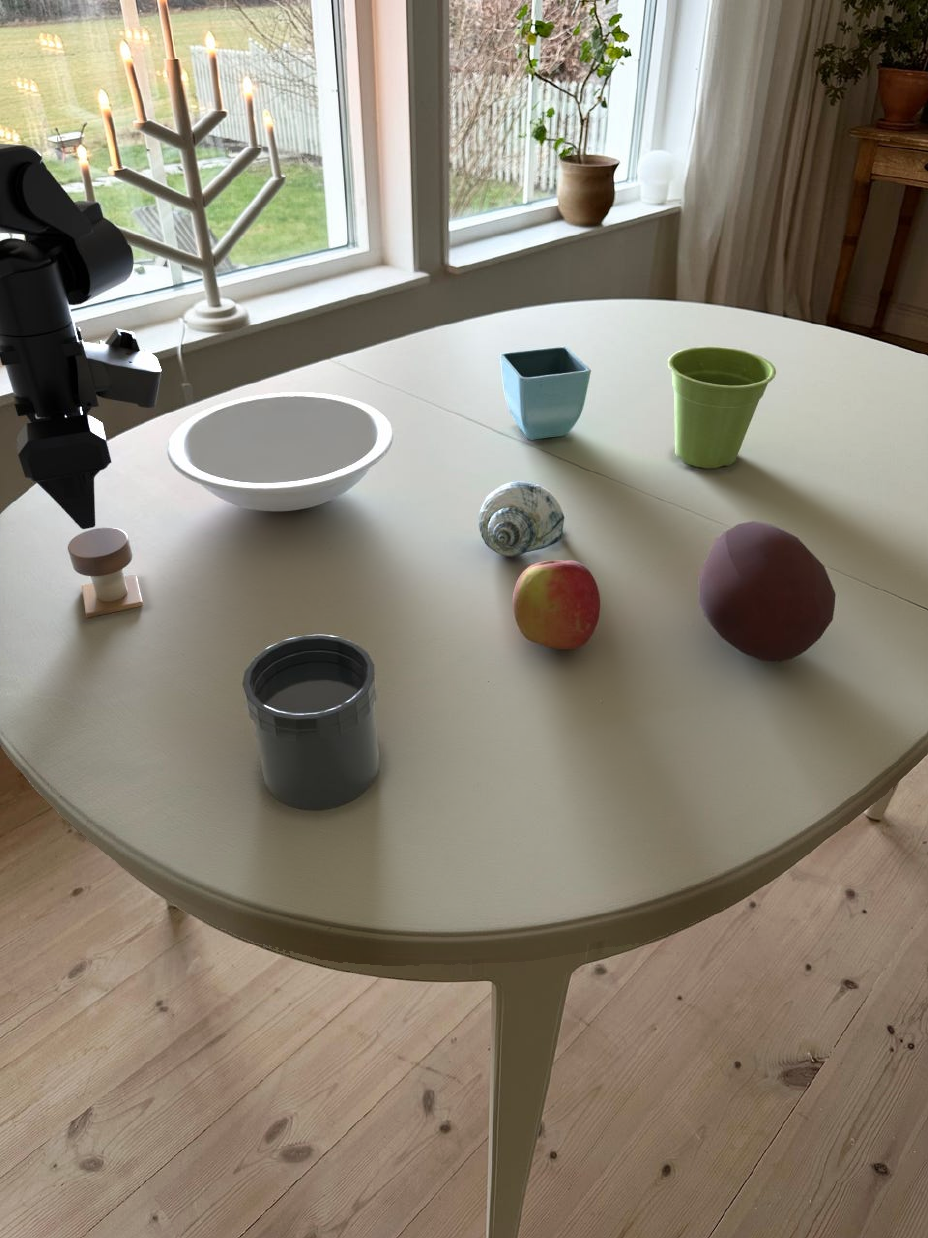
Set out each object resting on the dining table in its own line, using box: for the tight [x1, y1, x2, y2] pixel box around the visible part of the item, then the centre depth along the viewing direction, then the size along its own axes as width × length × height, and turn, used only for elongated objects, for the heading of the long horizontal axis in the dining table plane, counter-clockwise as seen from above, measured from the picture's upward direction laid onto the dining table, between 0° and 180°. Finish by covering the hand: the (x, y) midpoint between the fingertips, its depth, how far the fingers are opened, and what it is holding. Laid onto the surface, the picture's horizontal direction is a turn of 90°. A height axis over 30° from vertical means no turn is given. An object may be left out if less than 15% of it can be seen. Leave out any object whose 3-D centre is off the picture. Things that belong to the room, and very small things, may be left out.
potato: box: [698, 520, 837, 663], centre depth 78 cm, size 11×13×10 cm
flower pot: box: [499, 346, 592, 440], centre depth 113 cm, size 9×9×9 cm
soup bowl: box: [166, 392, 394, 512], centre depth 101 cm, size 24×24×7 cm
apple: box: [512, 559, 601, 650], centre depth 79 cm, size 8×8×8 cm
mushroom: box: [67, 527, 133, 602], centre depth 85 cm, size 5×5×6 cm
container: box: [242, 634, 380, 811], centre depth 66 cm, size 9×9×9 cm
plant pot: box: [667, 346, 777, 469], centre depth 106 cm, size 12×12×11 cm
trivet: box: [81, 573, 144, 619], centre depth 87 cm, size 5×5×1 cm
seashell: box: [478, 480, 565, 557], centre depth 92 cm, size 6×8×12 cm
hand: (84, 502), depth 80 cm, fingers open, 9 cm apart
